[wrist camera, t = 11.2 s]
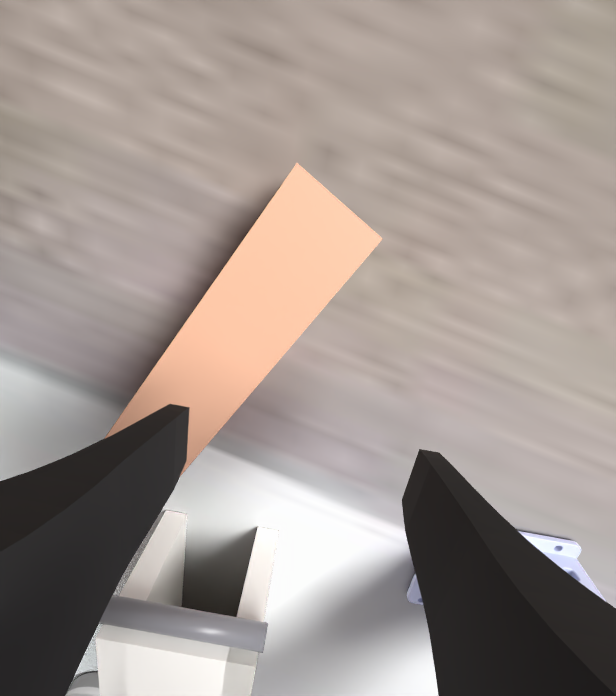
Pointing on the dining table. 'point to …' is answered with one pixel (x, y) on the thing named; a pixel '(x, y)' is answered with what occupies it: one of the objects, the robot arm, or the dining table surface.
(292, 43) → the dining table surface
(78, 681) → the travel mug
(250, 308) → the orange long block
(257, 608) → the dispenser
